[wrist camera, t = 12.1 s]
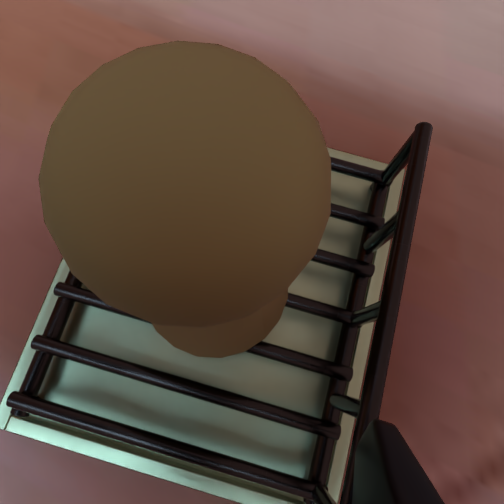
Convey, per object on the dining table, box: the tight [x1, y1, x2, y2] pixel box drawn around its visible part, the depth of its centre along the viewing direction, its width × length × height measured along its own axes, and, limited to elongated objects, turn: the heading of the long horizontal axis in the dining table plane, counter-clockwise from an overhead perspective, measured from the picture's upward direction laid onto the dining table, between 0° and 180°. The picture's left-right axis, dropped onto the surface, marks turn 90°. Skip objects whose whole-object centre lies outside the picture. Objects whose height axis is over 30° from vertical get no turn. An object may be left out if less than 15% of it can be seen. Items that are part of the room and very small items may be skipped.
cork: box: [39, 41, 331, 358], centre depth 11 cm, size 6×6×11 cm
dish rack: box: [0, 122, 433, 504], centre depth 16 cm, size 16×14×6 cm
